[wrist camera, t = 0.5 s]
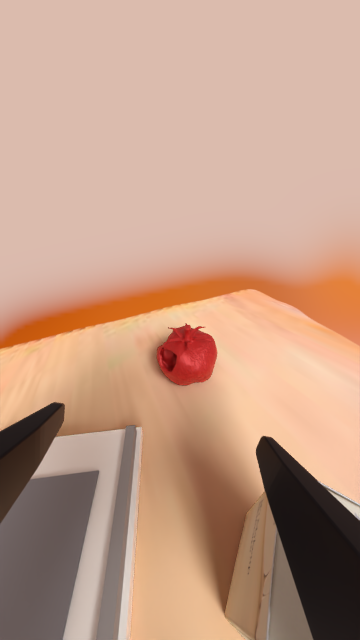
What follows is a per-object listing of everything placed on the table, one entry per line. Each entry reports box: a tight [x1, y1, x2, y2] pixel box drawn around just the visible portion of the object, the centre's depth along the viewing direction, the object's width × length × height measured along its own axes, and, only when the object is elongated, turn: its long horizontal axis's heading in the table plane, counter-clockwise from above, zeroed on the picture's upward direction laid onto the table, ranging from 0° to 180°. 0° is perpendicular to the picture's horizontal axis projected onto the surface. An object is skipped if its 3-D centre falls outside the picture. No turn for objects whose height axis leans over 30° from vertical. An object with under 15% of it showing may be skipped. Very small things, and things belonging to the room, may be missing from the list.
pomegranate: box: [157, 324, 217, 385], centre depth 30 cm, size 10×10×9 cm
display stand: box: [0, 425, 143, 640], centre depth 14 cm, size 18×18×3 cm
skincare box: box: [225, 481, 360, 640], centre depth 11 cm, size 6×4×12 cm
